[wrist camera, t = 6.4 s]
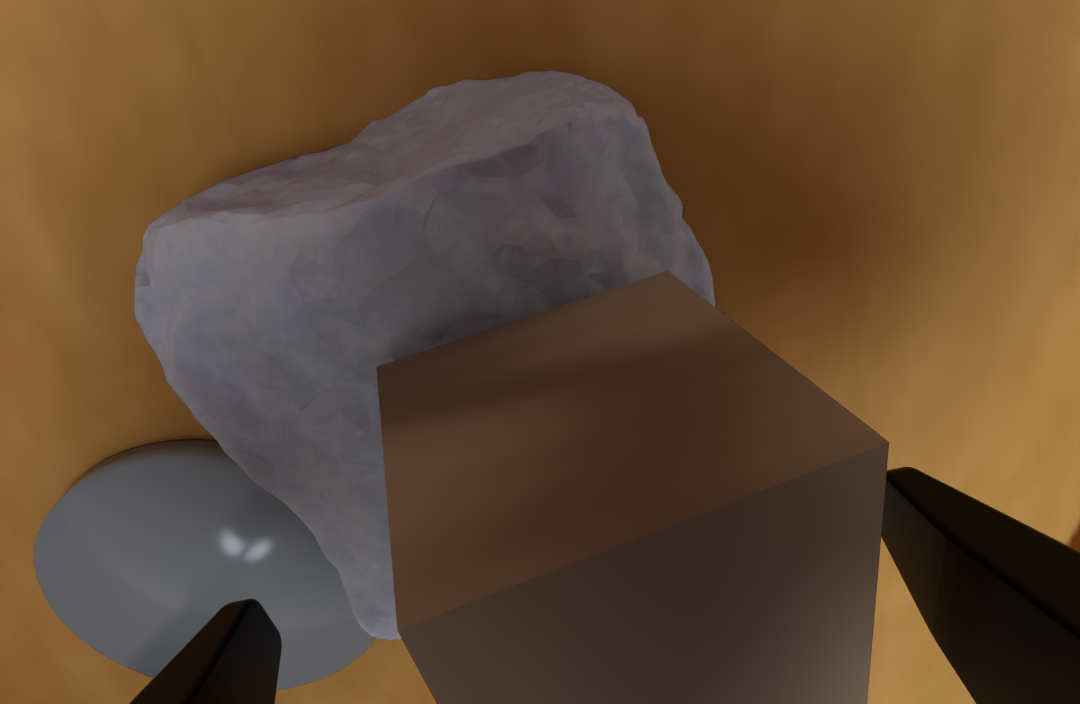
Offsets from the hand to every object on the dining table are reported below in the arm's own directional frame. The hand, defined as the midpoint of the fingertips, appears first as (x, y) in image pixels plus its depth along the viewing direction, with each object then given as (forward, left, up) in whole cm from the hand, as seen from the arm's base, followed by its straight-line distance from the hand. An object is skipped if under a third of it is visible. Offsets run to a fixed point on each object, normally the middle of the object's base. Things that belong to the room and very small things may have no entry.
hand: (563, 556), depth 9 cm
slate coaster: (-10, -5, -6) cm, 13 cm away
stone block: (-1, 0, -7) cm, 7 cm away
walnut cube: (0, 0, -3) cm, 3 cm away
